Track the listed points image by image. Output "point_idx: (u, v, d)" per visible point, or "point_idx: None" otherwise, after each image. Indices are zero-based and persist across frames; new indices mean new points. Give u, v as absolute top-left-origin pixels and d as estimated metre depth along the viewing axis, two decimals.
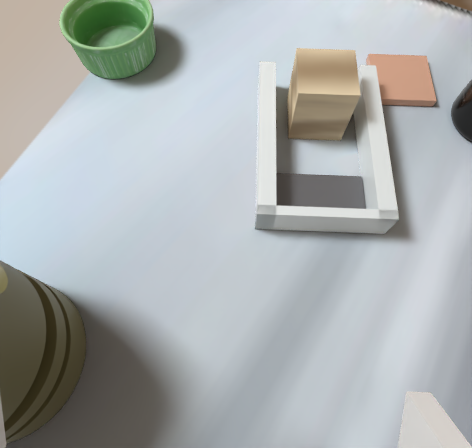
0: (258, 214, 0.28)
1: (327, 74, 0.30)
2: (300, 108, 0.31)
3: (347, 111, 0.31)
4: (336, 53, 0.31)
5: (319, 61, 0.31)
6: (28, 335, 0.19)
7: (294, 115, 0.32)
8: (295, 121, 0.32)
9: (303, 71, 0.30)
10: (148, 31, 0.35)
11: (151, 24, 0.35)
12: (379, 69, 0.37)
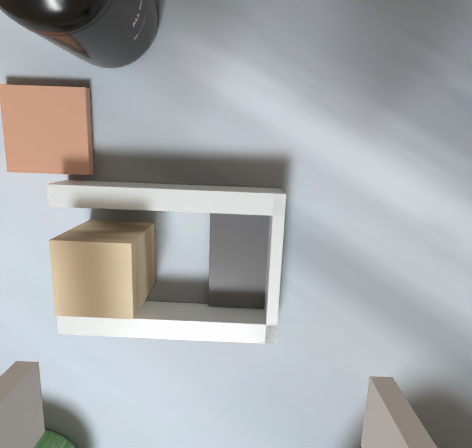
0: (275, 341, 0.27)
1: (99, 282, 0.23)
2: (140, 300, 0.25)
3: (140, 243, 0.24)
4: (58, 265, 0.22)
5: (76, 288, 0.23)
6: None
7: (144, 300, 0.26)
8: (147, 292, 0.26)
9: (96, 311, 0.23)
10: None
11: None
12: (35, 160, 0.26)
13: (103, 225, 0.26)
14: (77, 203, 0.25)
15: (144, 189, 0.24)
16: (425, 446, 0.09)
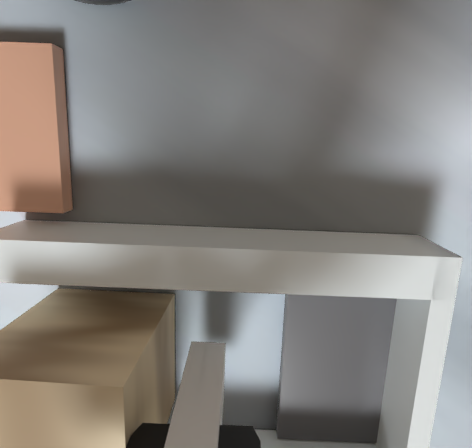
0: None
1: None
2: None
3: (145, 361, 0.11)
4: None
5: None
6: None
7: None
8: None
9: None
10: None
11: None
12: None
13: (77, 307, 0.14)
14: (35, 276, 0.12)
15: (171, 248, 0.12)
16: (211, 392, 0.11)
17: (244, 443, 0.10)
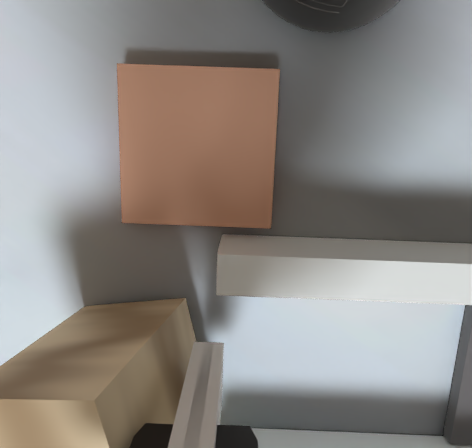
0: None
1: None
2: None
3: (137, 371, 0.11)
4: None
5: None
6: None
7: None
8: None
9: None
10: None
11: None
12: (174, 203, 0.14)
13: (92, 323, 0.14)
14: (273, 289, 0.13)
15: (408, 264, 0.12)
16: (209, 392, 0.11)
17: (241, 443, 0.10)
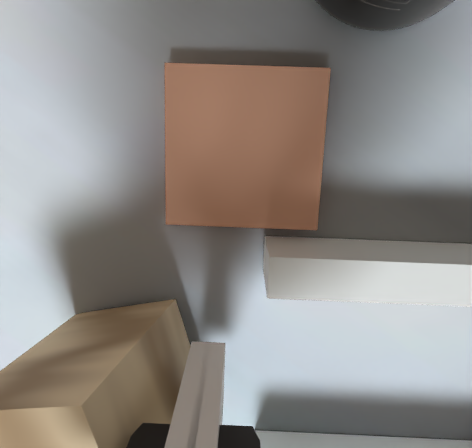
0: None
1: None
2: None
3: (126, 374, 0.11)
4: None
5: None
6: None
7: None
8: None
9: None
10: None
11: None
12: (219, 204, 0.14)
13: (82, 330, 0.14)
14: (325, 293, 0.13)
15: (464, 267, 0.12)
16: (211, 392, 0.11)
17: (244, 443, 0.10)
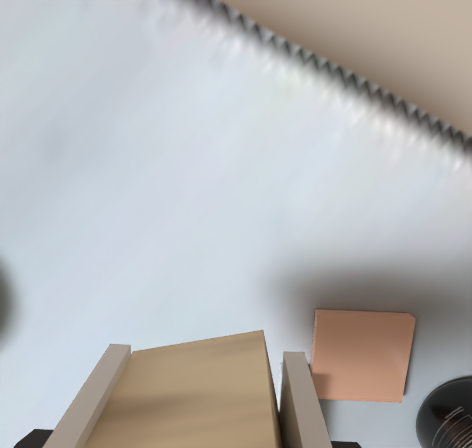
0: None
1: None
2: None
3: None
4: None
5: None
6: None
7: None
8: None
9: None
10: None
11: None
12: (328, 346, 0.23)
13: (274, 401, 0.12)
14: None
15: None
16: (310, 406, 0.11)
17: None
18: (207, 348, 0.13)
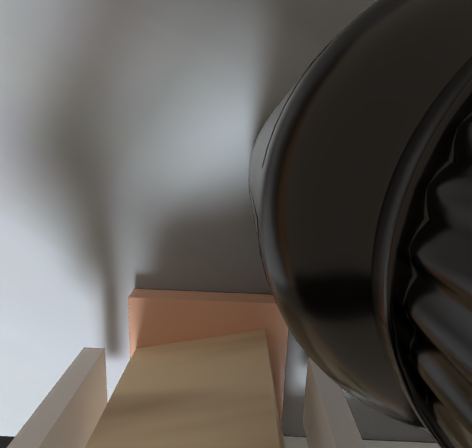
0: None
1: None
2: None
3: None
4: None
5: None
6: None
7: None
8: None
9: None
10: None
11: None
12: None
13: (275, 399, 0.12)
14: None
15: None
16: (342, 415, 0.10)
17: None
18: (209, 346, 0.13)
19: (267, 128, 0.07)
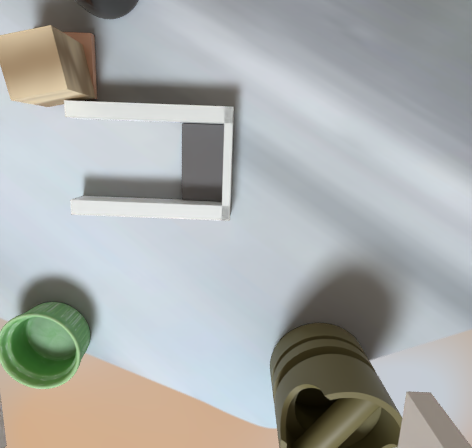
0: (229, 219, 0.37)
1: (31, 68, 0.30)
2: (28, 101, 0.32)
3: (72, 93, 0.32)
4: (33, 35, 0.30)
5: (19, 51, 0.30)
6: (330, 366, 0.34)
7: (29, 103, 0.33)
8: (37, 103, 0.34)
9: (7, 70, 0.30)
10: (50, 315, 0.38)
11: (42, 313, 0.38)
12: None
13: (79, 58, 0.34)
14: (85, 114, 0.35)
15: (133, 103, 0.34)
16: None
17: None
18: None
19: None
